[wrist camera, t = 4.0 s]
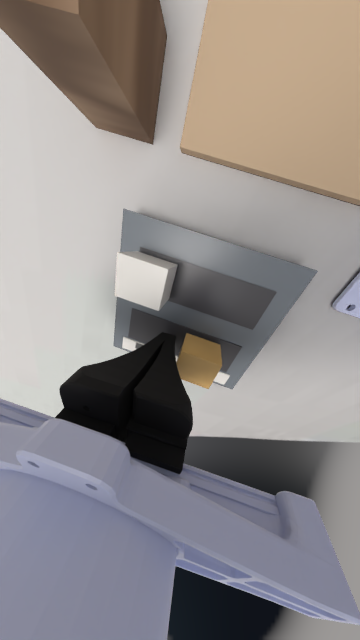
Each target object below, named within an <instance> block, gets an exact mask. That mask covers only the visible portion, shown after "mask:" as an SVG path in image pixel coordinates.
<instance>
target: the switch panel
mask: <svg viewBox="0 0 360 640" xmlns="http://www.w3.org/2000/svg"><path fill="white" fill-rule="evenodd" d="M133 251H138V252H141V253H144V254H147V255H150V256H153V257H156V258H159V259H162V260H165V261H168V262H171V263H174V264H177V265H178V266H177V270H176V274H175V278H174V282H173V285H172V289H171V293H170V297H169V299H168V301H167V302H166V303H165V304H164V305H163V307H162V308H161V309H160V310H159V311H157V310H154V309H151V308H148V307H146V306H143V305H140V304H137V303H134V302H131V301H128V300H126V299H123V298H120V297H117V305H116V319H115V332H114V346H115V347H118V348H120V349H123V350H126V351H129V352H132V351H134V350H136V349H138V348H139V347H141V346H143V345H144V344H146V343H148V342H149V341H150V340H152V339H153V338H155V337H156V336H157V335H159V334H160V333H161V332H164V333H168V334H172V335H175V336H176V341H175V357H176V361H177V358H178V355H179V352H180V349H181V347H182V344H183V341H184V339H185V336H186V333H189V334H191V335H194V336H197V337H200V338H203V339H206V340H208V341H211V342H214V343H217V344H220V346H221V357H222V367H221V369H220V371H219V372H218V374H217V376H216V377H215V379H214V381H213V383H216V384H219V385H222V386H224V387H227V388H230V389H233V388H234V386H235V385H236V383H237V382H238V381H239V379H240V378H241V377H242V375H243V374H244V372H245V371H246V370H247V368H248V367H249V366H250V364H251V363H252V361H253V360H254V359H255V357H256V356H257V354H258V353H259V352H260V350H261V349H262V348H263V346H264V345H265V343H266V342H267V341H268V339H269V338H270V336H271V335H272V334H273V332H274V331H275V330H276V328H277V327H278V325H279V324H280V323H281V321H282V320H283V319H284V317H285V316H286V314H287V313H288V312H289V310H290V309H291V307H292V306H293V305H294V303H295V302H296V301H297V299H298V298H299V296H300V295H301V294H302V292H303V291H304V290H305V288H306V287H307V285H308V284H309V283H310V281H311V280H312V278H313V277H314V276H315V274H316V273H317V272H318V271H316V270H313V269H310V268H307V267H304V266H301V265H298V264H294V263H291V262H288V261H285V260H282V259H279V258H276V257H273V256H270V255H266V254H263V253H260V252H257V251H254V250H251V249H248V248H245V247H242V246H238V245H235V244H232V243H229V242H226V241H223V240H220V239H217V238H214V237H210V236H207V235H204V234H201V233H198V232H195V231H192V230H189V229H185V228H182V227H179V226H176V225H173V224H170V223H167V222H164V221H161V220H157V219H154V218H151V217H148V216H145V215H142V214H139V213H136V212H133V211H129V210H126V209H123V222H122V236H121V250H120V252H133Z"/></svg>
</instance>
